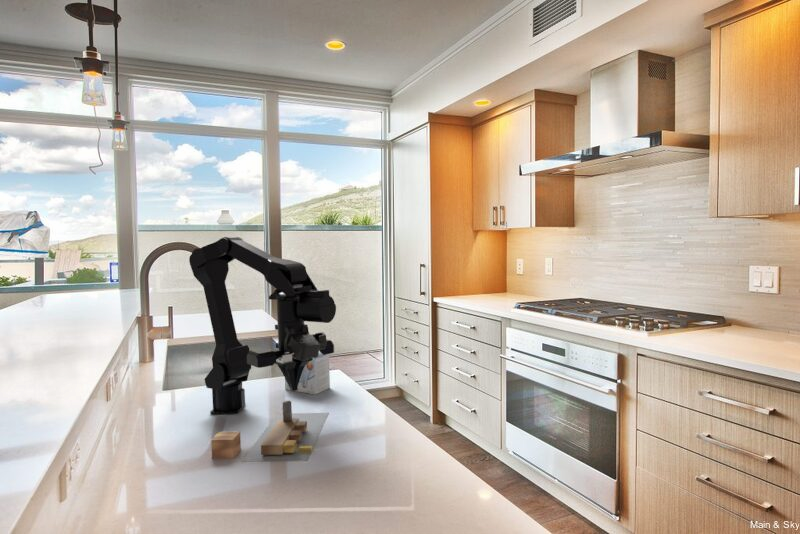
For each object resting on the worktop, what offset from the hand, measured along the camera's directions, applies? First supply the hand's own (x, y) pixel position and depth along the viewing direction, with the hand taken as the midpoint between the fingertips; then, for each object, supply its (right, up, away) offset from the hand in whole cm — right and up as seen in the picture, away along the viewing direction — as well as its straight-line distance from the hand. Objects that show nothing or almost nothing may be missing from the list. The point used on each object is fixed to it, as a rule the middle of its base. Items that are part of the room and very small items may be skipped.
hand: (293, 390), depth 111 cm
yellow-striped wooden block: (-9, -9, -16) cm, 20 cm away
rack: (+1, -7, -10) cm, 13 cm away
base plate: (+1, -8, -7) cm, 10 cm away
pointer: (+5, -8, -16) cm, 18 cm away
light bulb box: (-2, -6, +26) cm, 27 cm away
